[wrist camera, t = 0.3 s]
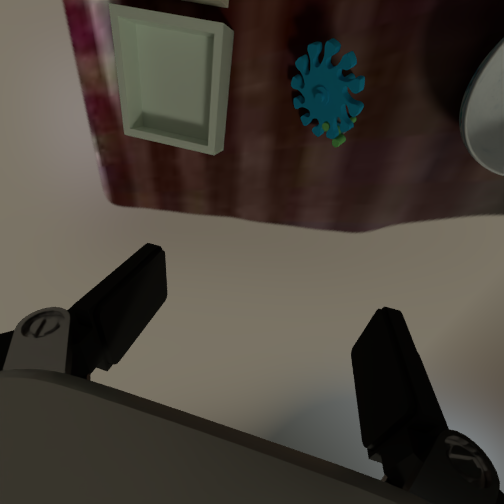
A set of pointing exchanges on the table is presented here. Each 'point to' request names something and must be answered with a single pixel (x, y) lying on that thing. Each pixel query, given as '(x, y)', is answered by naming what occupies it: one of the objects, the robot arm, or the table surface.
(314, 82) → the teal lobed piece
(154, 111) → the tray
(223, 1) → the beige boxy piece
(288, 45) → the table surface
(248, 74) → the table surface
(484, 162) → the chinaware
